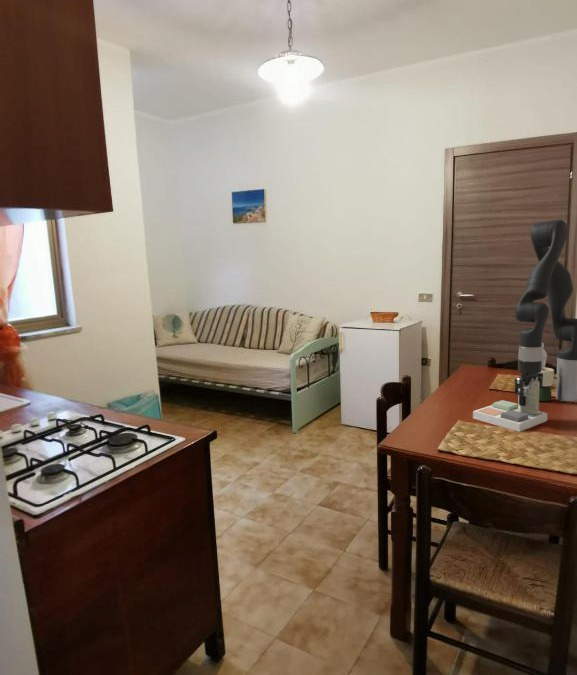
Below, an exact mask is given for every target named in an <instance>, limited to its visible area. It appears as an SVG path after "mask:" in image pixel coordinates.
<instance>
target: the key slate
mask: <svg viewBox="0 0 577 675" xmlns="http://www.w3.org/2000/svg"><path fill="white" fill-rule="evenodd" d="M517 412H519V411H517ZM540 412H541V411H540ZM540 412H539V414H528V416H529V417H534V416H537V415H540V414H542V413H540Z"/></svg>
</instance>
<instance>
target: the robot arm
mask: <svg viewBox="0 0 577 675" xmlns="http://www.w3.org/2000/svg"><path fill="white" fill-rule="evenodd" d="M529 235H530V239H531V240H530V241H531V244H532V248H533V250H534V253H535V256H536V258H537V260H538V261H537V262H538V263H537V264H536V265H535V266H534V267H533V268H532V270H531V272H530V273H529V276H528V280H527V283H526V288H525V290H524V293H523V294H522V296H521V297H520V299H519V301H518V303H517V305H516V306H515V309H514V316H515V319H516V320H517V321H518V322H521V323H535V324H534V326H533V327H532V328H531V327H530V328H524V329H522V330H520V332H519V347H518V353H517V354H518V357H517V371H518V372H520V373H521V374H520V376H519V377H515V379H514V394H515V395H519V405H521V406H526V394H527V391H528V390H529V389H530V386H531V384H532V383H533V380H539V383H540V385H539V390H540V389H542V386H543V373H540V372H541V370H542V343H543V333H544V329H545V325H546V323H547V320H548V318H549V314H551V315H550V316H551V322H552V323H551V324H552V329H553V334H554V337H555V338H556V339H557V340H559V341H564V342H571V346H570V347H567V348H561V349H559V350H557V354H556V374H557V375H559V382H558V383H556V382H555V397H556V398H555V400H557V399H558V400H557V401H559V400H561V401H560V402H563V401H577V318H571V317H566V314H565V313H566V312H565V307H566V305H567V303H569V300H570V298H571V296H572V294H573V293H574V284H573V280H572V277H571V273H570V271H569V270H568V269H567V267H565V265H563V264H562V263H561V262H560V261H559V258H560V256H561V253H562V251H563V249H564V246H565V244H566V240H567V237H568V226H567V223H566V221H564V220H563V219H553V220H547V221H539V222H535V223H533V224H532V225H531V227H530V234H529ZM546 297H547V301H548V304H546V303H545V302H535V301H539V300H543V299H545V298H546ZM548 305H549V306H548ZM549 308H550V309H549ZM523 381H524V382H523ZM523 383H524V384H525V385H526V386H527V387H523ZM523 389H524V392H523Z"/></svg>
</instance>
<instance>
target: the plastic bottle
mask: <svg viewBox="0 0 577 675" xmlns="http://www.w3.org/2000/svg"><path fill="white" fill-rule="evenodd" d="M544 348H545V343H544V342H542V367H544V368H546V364H547V357H548V353H547V351H546V350H545V349H544Z"/></svg>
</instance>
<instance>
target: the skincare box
mask: <svg viewBox="0 0 577 675" xmlns="http://www.w3.org/2000/svg"><path fill="white" fill-rule="evenodd" d="M523 382H524V381H523ZM523 387H527V386H526V385H525V384H524V383H523ZM523 392H524V389H523ZM517 395H518V394H517ZM517 398H518V399H517V400H518V401H517V402H518V403H517V404H518V411H519V412H521V413H525V414H539V411H540V400H539V380H533V383H532V384H531V386H530V389H529V390H528V391H527V394H526V406H521V405H519V395H518V397H517Z"/></svg>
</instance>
